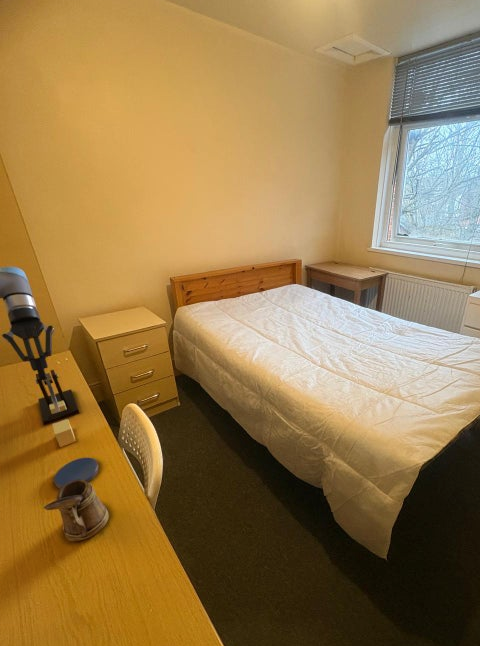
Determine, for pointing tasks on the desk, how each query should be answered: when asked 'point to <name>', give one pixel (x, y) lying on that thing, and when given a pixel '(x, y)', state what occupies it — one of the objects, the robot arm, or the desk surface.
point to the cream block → (61, 406)
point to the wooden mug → (79, 510)
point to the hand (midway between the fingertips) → (43, 378)
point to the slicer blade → (54, 399)
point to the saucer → (76, 471)
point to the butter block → (63, 432)
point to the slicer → (60, 396)
